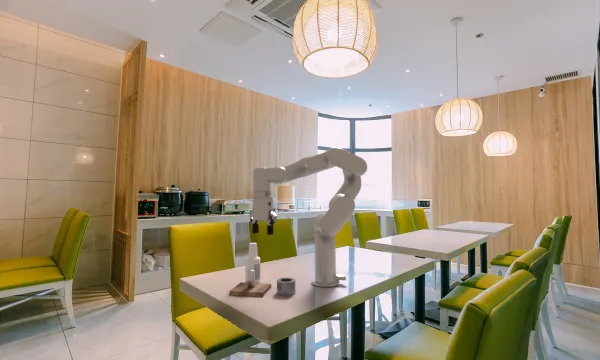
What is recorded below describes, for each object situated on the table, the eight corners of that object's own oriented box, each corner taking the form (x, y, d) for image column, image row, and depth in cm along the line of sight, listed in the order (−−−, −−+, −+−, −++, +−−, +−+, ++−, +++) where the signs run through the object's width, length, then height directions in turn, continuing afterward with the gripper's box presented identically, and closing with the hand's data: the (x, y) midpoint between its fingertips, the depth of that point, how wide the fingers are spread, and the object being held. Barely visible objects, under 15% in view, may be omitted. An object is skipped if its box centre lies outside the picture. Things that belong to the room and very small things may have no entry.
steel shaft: (255, 286, 118) (255, 269, 119) (253, 288, 115) (253, 271, 116) (248, 285, 119) (249, 269, 119) (246, 288, 116) (246, 270, 116)
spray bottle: (261, 284, 126) (261, 243, 127) (246, 285, 124) (246, 244, 125) (259, 280, 132) (259, 241, 134) (244, 281, 130) (244, 242, 132)
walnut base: (271, 287, 122) (271, 283, 122) (263, 296, 110) (263, 292, 110) (240, 285, 124) (240, 282, 124) (229, 294, 112) (229, 290, 112)
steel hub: (296, 290, 117) (296, 277, 118) (293, 295, 110) (293, 282, 111) (279, 289, 119) (279, 277, 119) (275, 295, 111) (275, 282, 112)
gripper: (281, 194, 122) (282, 234, 121) (255, 195, 134) (256, 232, 132) (269, 194, 117) (270, 236, 116) (243, 196, 128) (243, 233, 127)
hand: (262, 233), depth 124 cm, fingers open, 9 cm apart
